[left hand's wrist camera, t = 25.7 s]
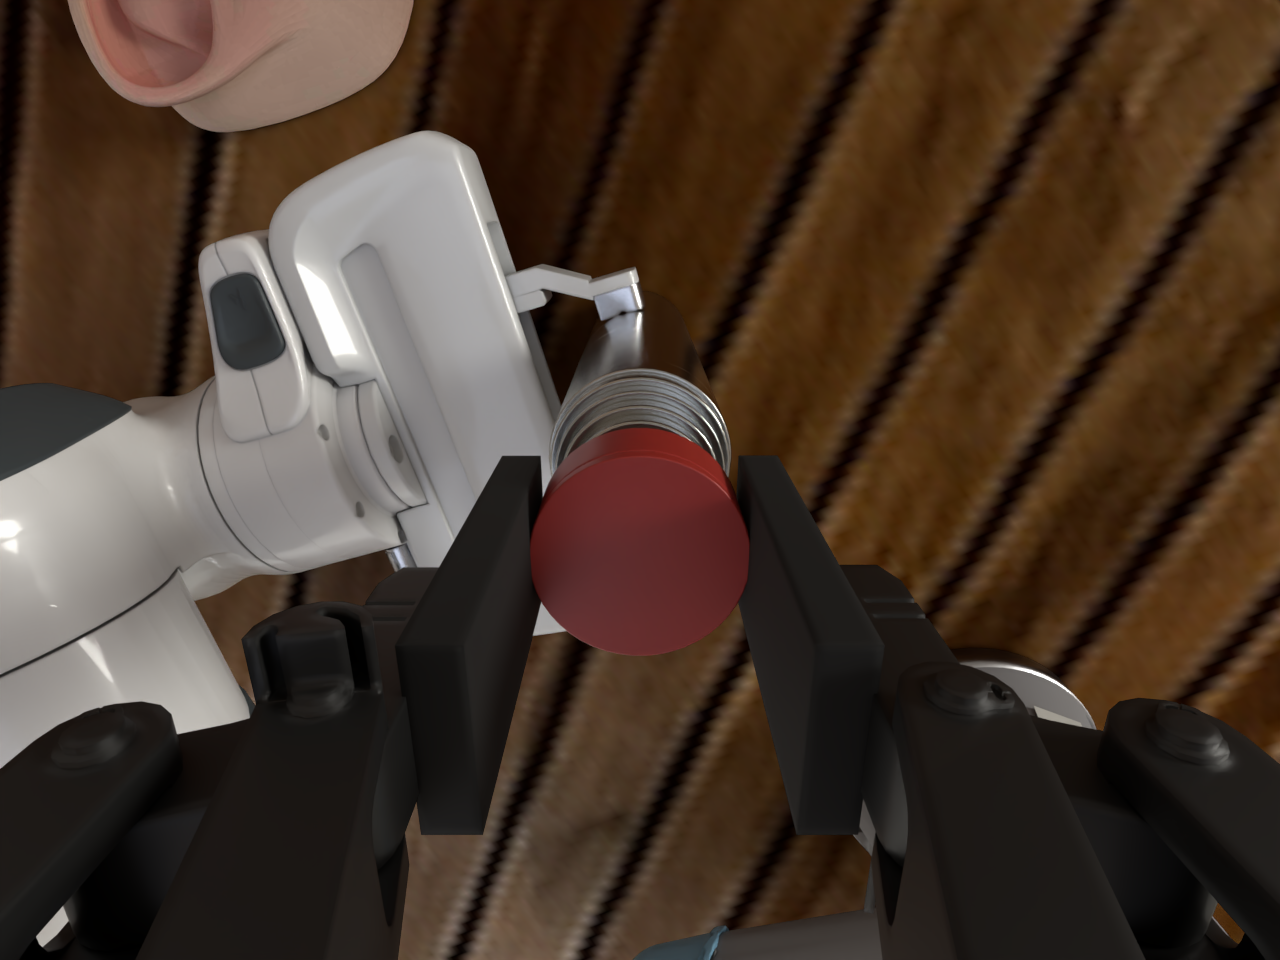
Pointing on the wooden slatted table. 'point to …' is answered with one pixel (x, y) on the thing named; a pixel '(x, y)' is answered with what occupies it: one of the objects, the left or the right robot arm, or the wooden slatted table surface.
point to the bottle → (640, 385)
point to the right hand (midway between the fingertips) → (661, 359)
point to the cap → (639, 543)
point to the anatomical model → (240, 54)
